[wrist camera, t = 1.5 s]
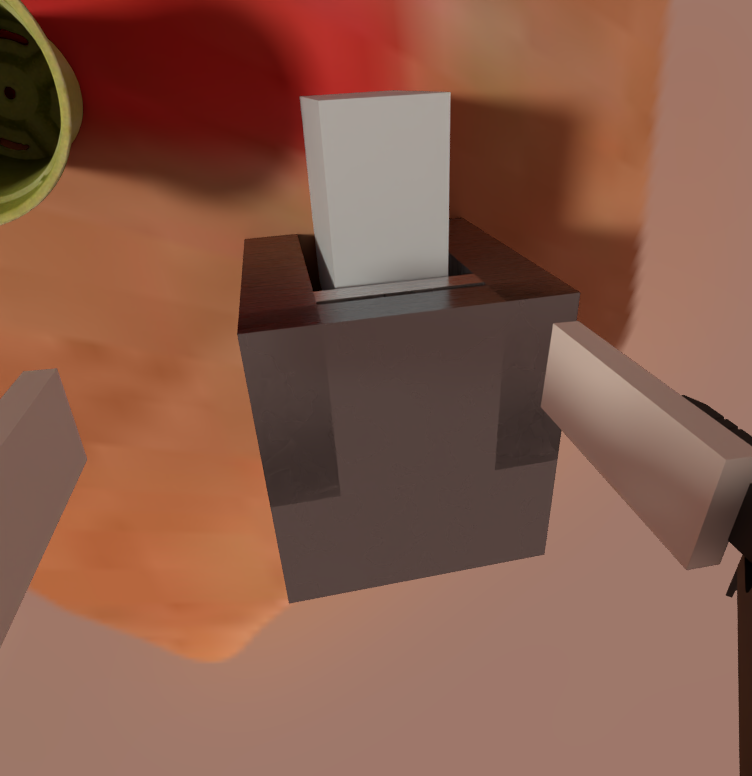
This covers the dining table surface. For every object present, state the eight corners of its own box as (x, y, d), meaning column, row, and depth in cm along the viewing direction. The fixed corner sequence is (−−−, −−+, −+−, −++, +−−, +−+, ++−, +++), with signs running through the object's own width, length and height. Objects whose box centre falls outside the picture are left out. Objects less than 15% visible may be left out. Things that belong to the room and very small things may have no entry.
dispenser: (244, 239, 31) (237, 334, 19) (462, 217, 33) (580, 292, 21) (278, 440, 38) (289, 603, 26) (457, 413, 40) (544, 554, 28)
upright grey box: (299, 96, 28) (318, 100, 20) (393, 90, 29) (450, 91, 21) (319, 281, 33) (341, 349, 25) (399, 272, 34) (447, 335, 25)
